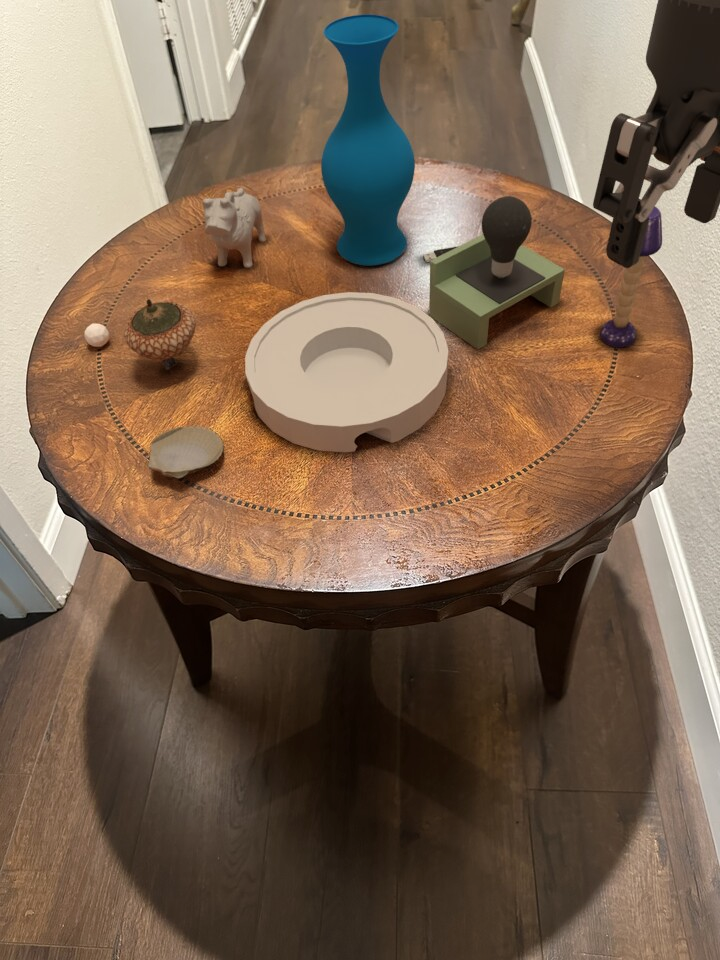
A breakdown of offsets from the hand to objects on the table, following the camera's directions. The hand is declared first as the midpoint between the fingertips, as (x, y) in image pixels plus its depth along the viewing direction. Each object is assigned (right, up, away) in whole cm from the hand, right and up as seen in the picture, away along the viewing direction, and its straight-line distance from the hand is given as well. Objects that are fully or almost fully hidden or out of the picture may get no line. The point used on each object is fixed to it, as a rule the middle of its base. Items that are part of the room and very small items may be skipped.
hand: (660, 239), depth 54 cm
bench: (-5, +4, +41) cm, 41 cm away
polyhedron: (-55, 0, +41) cm, 68 cm away
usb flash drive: (-9, +13, +49) cm, 52 cm away
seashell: (-40, -15, +27) cm, 51 cm away
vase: (-20, +15, +52) cm, 57 cm away
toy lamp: (+9, 0, +36) cm, 37 cm away
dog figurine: (-39, +14, +52) cm, 67 cm away
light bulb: (-5, +7, +37) cm, 38 cm away
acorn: (-45, -4, +37) cm, 58 cm away
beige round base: (-23, -6, +34) cm, 42 cm away
